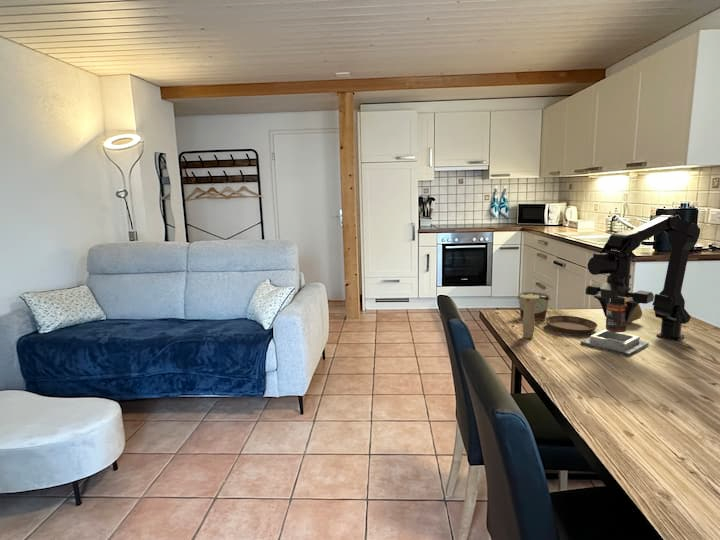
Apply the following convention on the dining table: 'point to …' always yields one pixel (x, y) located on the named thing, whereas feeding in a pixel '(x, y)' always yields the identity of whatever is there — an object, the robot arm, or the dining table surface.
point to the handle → (528, 314)
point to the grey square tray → (615, 342)
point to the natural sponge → (634, 312)
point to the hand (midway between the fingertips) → (616, 318)
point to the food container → (536, 305)
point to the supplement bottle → (616, 315)
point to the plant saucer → (571, 325)
